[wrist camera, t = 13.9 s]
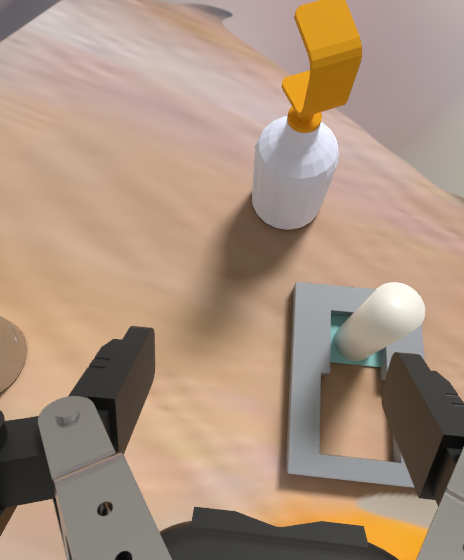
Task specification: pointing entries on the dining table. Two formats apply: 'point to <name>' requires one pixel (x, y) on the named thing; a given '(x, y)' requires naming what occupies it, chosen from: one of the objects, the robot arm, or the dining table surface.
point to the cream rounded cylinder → (380, 321)
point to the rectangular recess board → (315, 362)
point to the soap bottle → (307, 120)
